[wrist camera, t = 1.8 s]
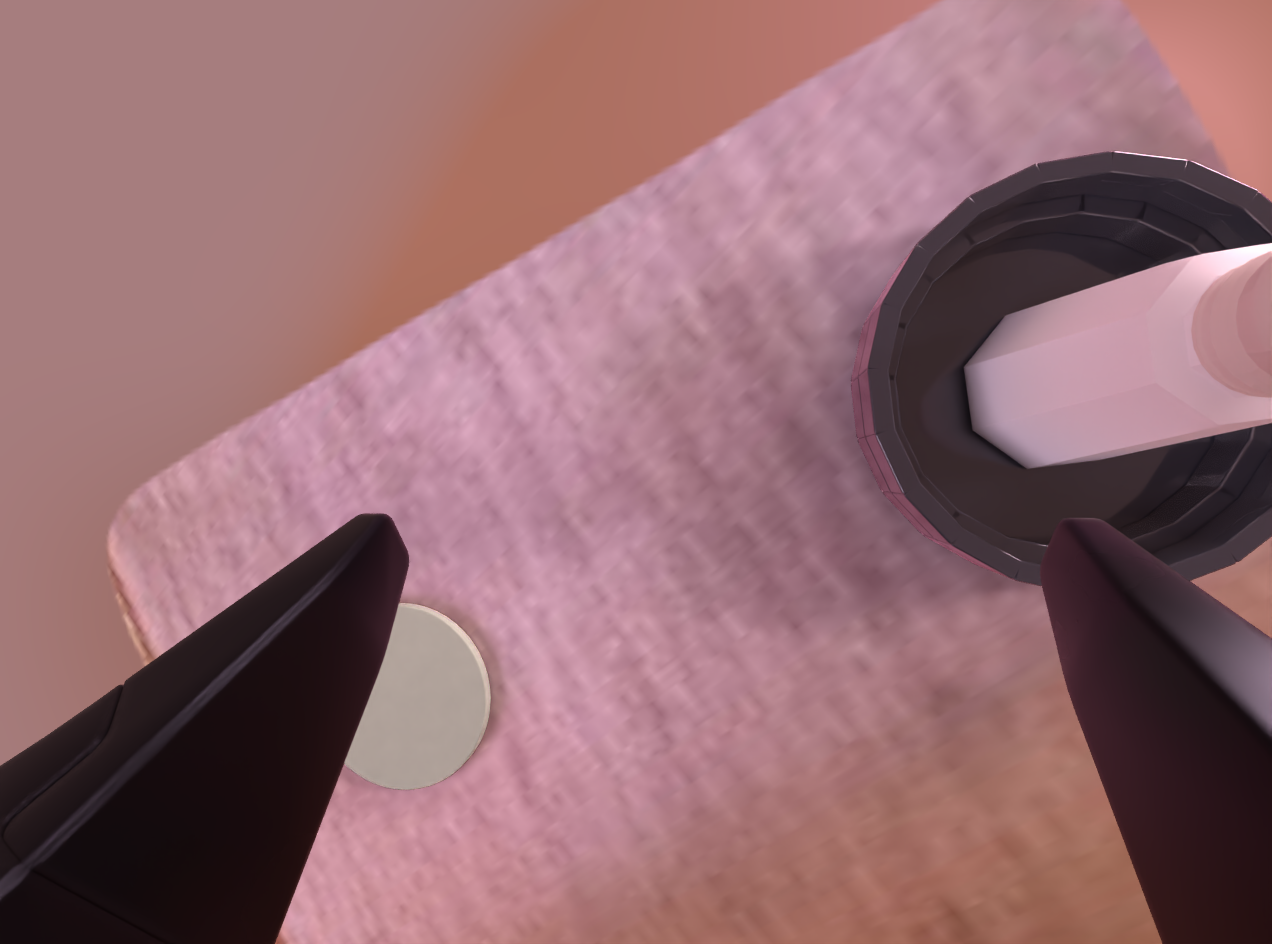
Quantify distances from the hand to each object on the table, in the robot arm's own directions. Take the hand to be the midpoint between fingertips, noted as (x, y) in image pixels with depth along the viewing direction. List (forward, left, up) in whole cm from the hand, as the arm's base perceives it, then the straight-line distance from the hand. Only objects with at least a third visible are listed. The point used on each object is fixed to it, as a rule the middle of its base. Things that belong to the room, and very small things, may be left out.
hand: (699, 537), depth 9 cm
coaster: (+7, +13, -14) cm, 20 cm away
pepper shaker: (-7, -8, -14) cm, 18 cm away
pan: (-7, -8, -14) cm, 18 cm away
